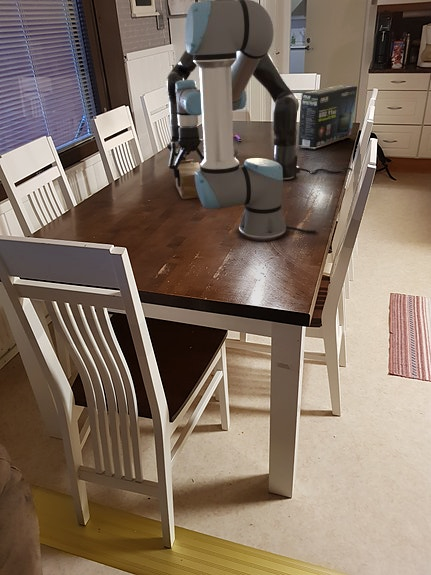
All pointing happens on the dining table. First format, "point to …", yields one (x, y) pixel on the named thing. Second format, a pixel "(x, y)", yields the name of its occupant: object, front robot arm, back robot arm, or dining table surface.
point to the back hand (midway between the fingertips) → (182, 165)
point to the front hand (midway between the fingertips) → (192, 184)
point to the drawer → (185, 162)
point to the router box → (326, 115)
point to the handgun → (238, 138)
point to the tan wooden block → (188, 180)
